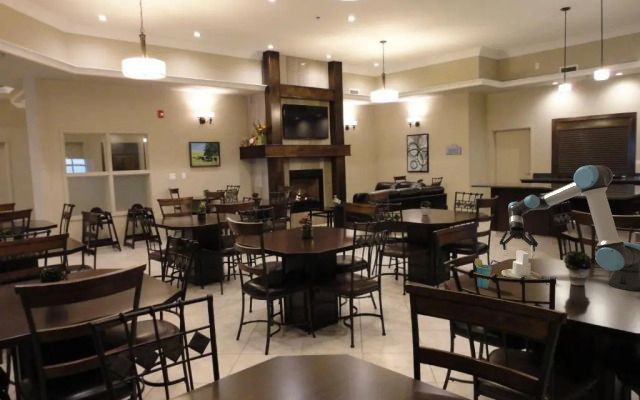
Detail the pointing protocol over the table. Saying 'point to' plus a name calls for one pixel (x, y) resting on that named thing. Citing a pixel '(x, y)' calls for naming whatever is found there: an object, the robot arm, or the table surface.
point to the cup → (483, 272)
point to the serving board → (509, 274)
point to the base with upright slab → (521, 263)
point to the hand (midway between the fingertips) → (519, 255)
